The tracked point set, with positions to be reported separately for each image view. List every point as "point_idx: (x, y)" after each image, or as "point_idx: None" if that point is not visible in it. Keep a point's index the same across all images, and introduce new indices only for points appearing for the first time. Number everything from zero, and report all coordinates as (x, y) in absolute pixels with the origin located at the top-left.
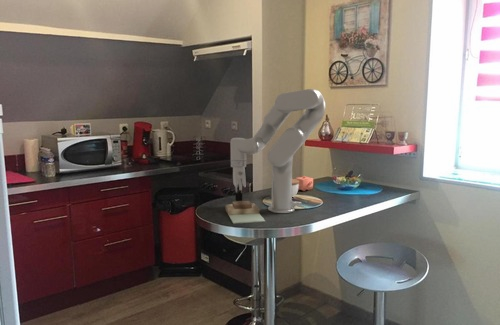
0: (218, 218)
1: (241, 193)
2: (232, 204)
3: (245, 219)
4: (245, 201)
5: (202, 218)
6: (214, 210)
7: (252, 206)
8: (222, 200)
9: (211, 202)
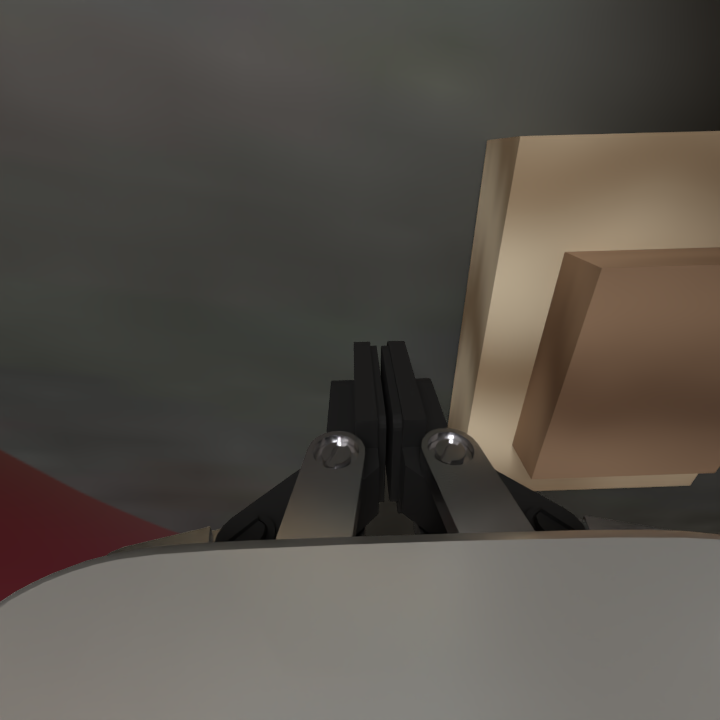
0: (661, 506)
1: (423, 423)
2: (519, 453)
3: None
4: (608, 331)
5: None
6: None
7: (706, 216)
8: (76, 451)
9: (172, 523)
